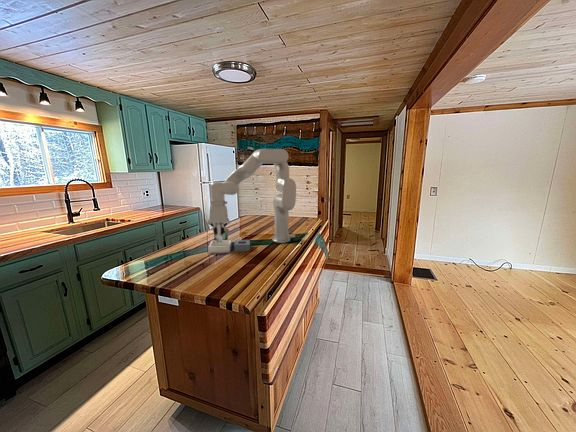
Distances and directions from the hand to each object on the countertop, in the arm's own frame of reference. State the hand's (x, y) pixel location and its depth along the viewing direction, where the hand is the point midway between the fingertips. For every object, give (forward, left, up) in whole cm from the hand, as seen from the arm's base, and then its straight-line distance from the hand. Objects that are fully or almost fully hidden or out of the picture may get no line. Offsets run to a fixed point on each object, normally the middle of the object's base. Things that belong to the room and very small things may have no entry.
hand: (219, 233), depth 138 cm
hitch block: (-13, 0, -10) cm, 16 cm away
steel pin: (0, 0, -5) cm, 5 cm away
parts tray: (0, 0, -10) cm, 10 cm away
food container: (0, -14, -10) cm, 17 cm away
